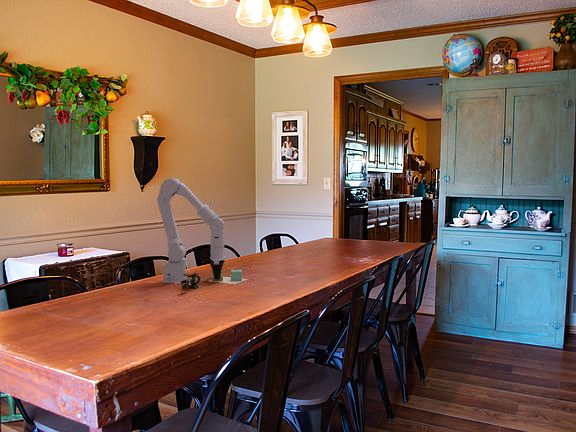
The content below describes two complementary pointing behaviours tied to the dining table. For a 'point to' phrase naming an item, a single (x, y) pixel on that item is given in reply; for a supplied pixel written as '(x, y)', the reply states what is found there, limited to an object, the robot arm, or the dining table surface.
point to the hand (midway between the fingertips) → (217, 278)
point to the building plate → (228, 280)
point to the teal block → (236, 275)
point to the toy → (191, 281)
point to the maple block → (220, 276)
